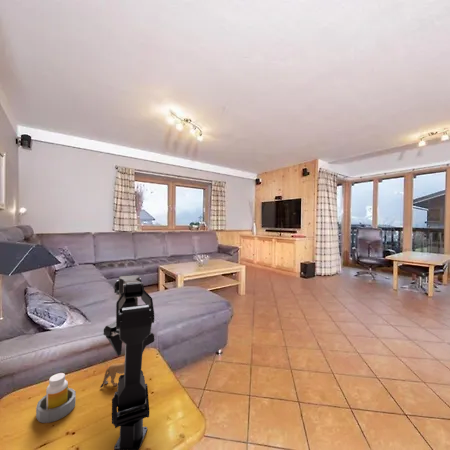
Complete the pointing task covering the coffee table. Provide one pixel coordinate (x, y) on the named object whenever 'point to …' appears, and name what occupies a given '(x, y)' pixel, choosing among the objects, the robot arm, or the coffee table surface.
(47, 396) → the supplement bottle
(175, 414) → the coffee table surface
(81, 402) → the coffee table surface
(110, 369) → the lion figurine
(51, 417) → the grey faceted bowl
